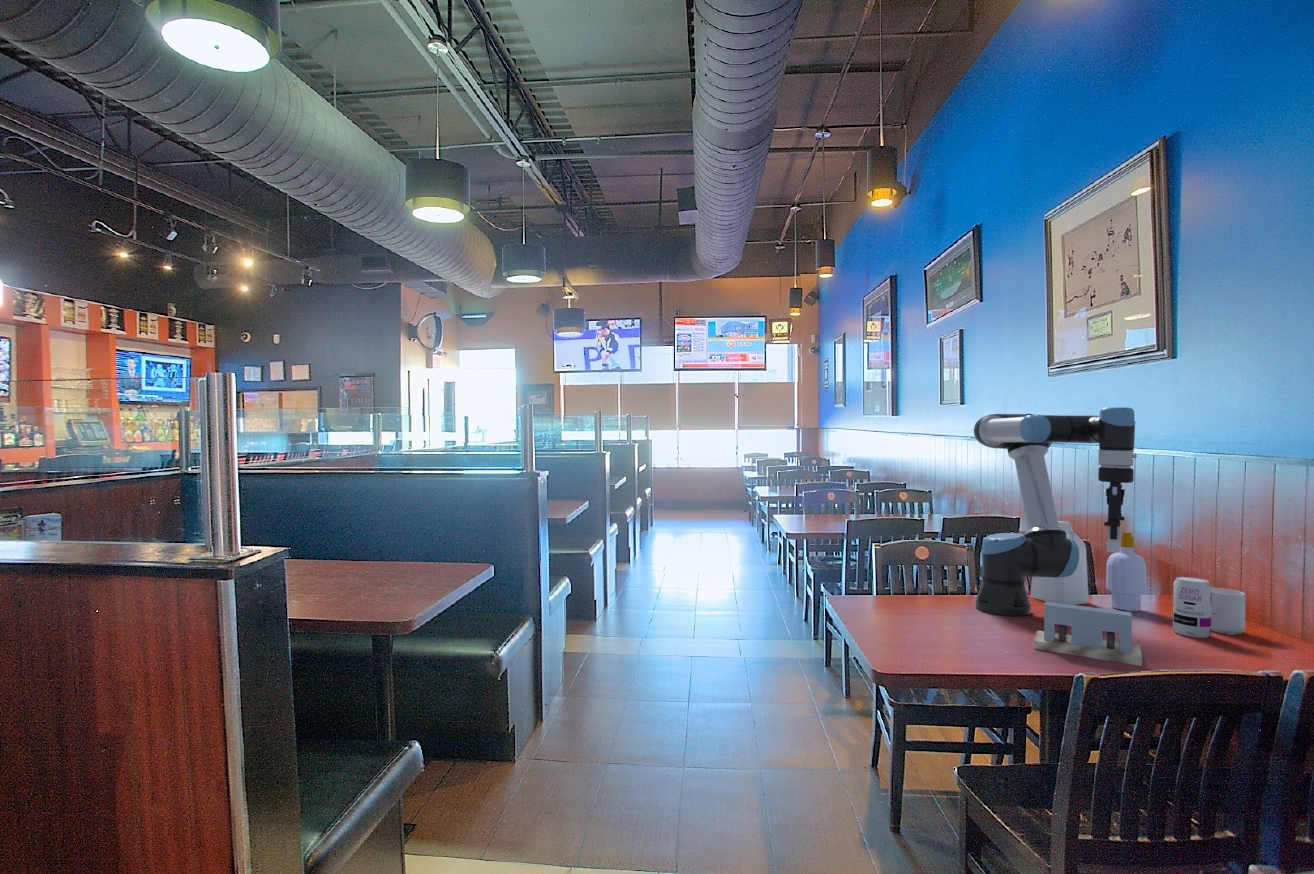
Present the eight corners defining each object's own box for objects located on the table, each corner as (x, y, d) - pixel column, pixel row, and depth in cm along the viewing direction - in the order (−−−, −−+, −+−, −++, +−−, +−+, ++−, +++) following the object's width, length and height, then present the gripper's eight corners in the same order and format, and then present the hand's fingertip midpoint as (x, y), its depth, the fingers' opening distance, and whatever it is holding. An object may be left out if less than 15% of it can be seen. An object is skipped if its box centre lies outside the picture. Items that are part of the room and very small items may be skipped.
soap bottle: (1106, 603, 216) (1107, 528, 216) (1145, 608, 210) (1146, 531, 210) (1105, 609, 208) (1106, 532, 208) (1146, 614, 202) (1147, 535, 202)
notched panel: (1043, 640, 168) (1044, 604, 168) (1044, 636, 172) (1045, 601, 172) (1131, 653, 158) (1131, 615, 158) (1130, 649, 162) (1131, 612, 162)
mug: (1253, 635, 182) (1254, 594, 182) (1222, 635, 181) (1223, 594, 181) (1214, 623, 194) (1214, 584, 194) (1185, 623, 193) (1185, 585, 193)
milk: (1030, 597, 223) (1031, 519, 223) (1053, 594, 228) (1054, 518, 228) (1064, 605, 212) (1065, 524, 212) (1088, 602, 217) (1089, 522, 217)
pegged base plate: (1034, 648, 168) (1034, 624, 168) (1037, 637, 177) (1037, 615, 177) (1142, 666, 156) (1142, 640, 156) (1139, 653, 165) (1139, 629, 165)
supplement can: (1202, 631, 185) (1203, 577, 185) (1216, 640, 177) (1217, 583, 177) (1167, 628, 188) (1168, 575, 188) (1180, 636, 180) (1180, 581, 180)
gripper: (1133, 469, 161) (1131, 557, 161) (1133, 465, 181) (1132, 543, 181) (1096, 468, 165) (1094, 553, 165) (1100, 464, 185) (1098, 540, 186)
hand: (1113, 548), depth 173 cm, fingers open, 13 cm apart
